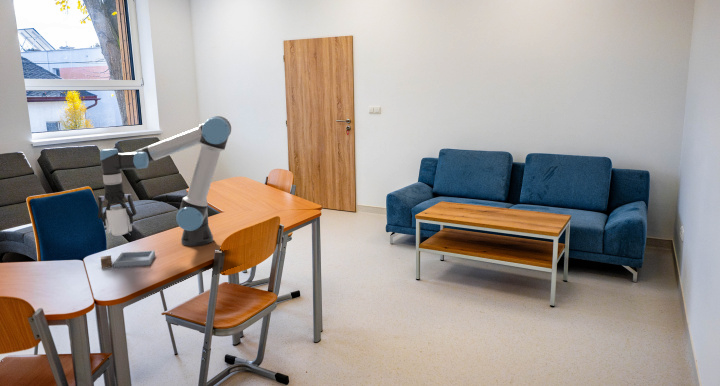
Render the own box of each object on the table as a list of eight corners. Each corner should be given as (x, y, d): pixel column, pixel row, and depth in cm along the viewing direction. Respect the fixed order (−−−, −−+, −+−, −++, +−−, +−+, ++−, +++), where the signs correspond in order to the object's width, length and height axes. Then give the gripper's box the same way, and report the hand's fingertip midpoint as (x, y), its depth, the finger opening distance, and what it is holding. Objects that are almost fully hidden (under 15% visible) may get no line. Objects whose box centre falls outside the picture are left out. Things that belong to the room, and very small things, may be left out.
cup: (117, 230, 234) (114, 205, 232) (134, 231, 233) (131, 206, 230) (104, 236, 226) (101, 210, 223) (122, 236, 224) (118, 210, 221)
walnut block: (111, 264, 218) (110, 255, 217) (112, 266, 214) (111, 258, 214) (101, 265, 216) (100, 256, 215) (101, 268, 213) (100, 259, 212)
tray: (155, 255, 229) (154, 250, 228) (149, 265, 215) (148, 260, 215) (122, 257, 226) (121, 252, 225) (114, 268, 212) (113, 262, 212)
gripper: (140, 180, 230) (146, 227, 235) (89, 183, 226) (96, 231, 230) (136, 182, 223) (142, 231, 228) (84, 186, 219) (92, 236, 223)
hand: (119, 231), depth 229 cm, fingers closed on cup, 9 cm apart
